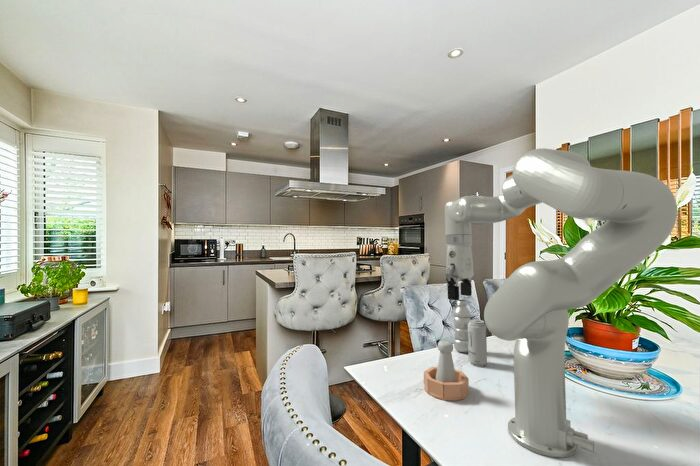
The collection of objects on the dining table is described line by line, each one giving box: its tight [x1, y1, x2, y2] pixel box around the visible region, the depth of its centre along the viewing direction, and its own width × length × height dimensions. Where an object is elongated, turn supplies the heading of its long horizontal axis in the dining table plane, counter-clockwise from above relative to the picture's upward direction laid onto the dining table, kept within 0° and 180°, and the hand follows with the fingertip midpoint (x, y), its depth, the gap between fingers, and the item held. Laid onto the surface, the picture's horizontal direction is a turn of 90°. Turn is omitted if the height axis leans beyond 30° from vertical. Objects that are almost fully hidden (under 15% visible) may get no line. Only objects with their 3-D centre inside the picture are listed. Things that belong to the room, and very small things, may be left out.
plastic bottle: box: [452, 299, 472, 353], centre depth 118 cm, size 6×7×20 cm
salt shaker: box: [436, 340, 457, 383], centre depth 87 cm, size 6×6×13 cm
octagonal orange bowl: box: [423, 366, 470, 402], centre depth 87 cm, size 12×12×4 cm
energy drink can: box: [467, 318, 488, 368], centre depth 106 cm, size 6×6×15 cm
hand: (460, 297), depth 91 cm, fingers open, 9 cm apart
